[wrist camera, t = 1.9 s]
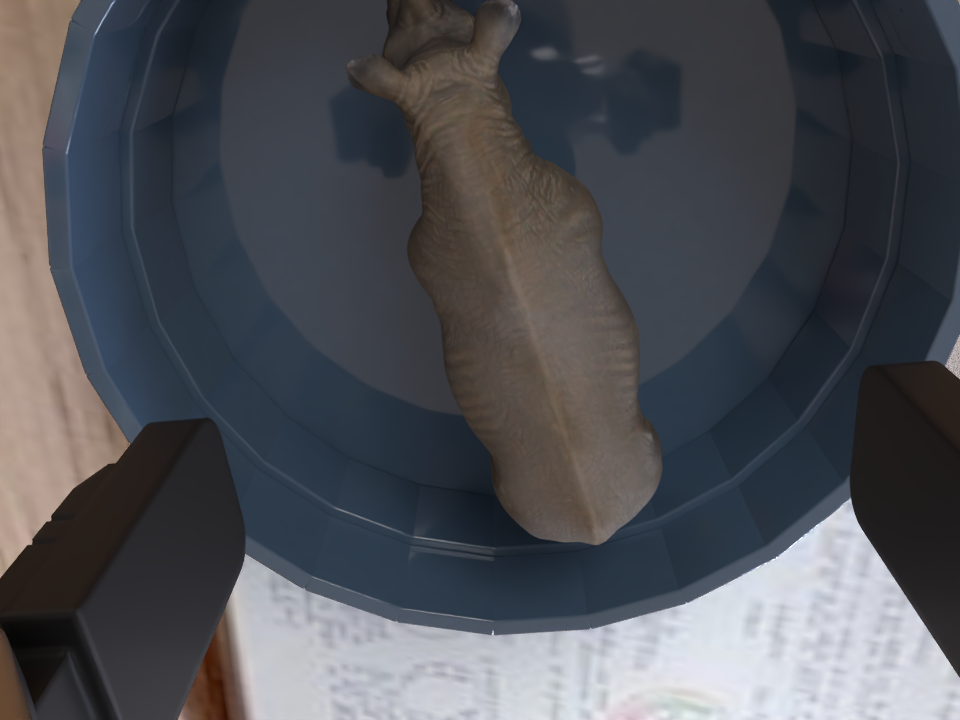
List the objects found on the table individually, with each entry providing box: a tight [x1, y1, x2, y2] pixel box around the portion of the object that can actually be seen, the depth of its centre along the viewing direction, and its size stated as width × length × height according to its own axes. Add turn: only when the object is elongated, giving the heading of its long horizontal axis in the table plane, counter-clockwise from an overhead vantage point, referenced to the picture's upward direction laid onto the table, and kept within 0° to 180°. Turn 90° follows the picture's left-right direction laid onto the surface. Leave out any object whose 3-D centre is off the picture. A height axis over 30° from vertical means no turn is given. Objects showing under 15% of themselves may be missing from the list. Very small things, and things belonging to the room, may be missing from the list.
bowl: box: [42, 0, 960, 635], centre depth 18 cm, size 17×17×5 cm
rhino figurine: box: [346, 0, 662, 545], centre depth 17 cm, size 4×14×6 cm, turn 19°
